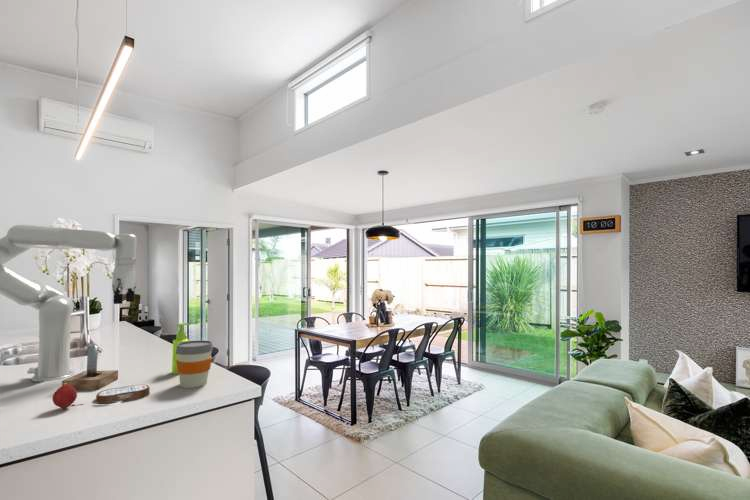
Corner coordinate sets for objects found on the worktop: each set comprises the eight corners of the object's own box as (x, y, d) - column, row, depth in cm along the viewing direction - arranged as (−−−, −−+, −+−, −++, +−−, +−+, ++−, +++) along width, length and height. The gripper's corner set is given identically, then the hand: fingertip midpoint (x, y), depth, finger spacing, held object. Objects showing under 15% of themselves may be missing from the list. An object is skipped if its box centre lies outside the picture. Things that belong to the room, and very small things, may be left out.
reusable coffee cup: (219, 381, 145) (220, 342, 145) (191, 391, 133) (192, 348, 134) (196, 377, 150) (197, 339, 151) (167, 386, 139) (168, 345, 139)
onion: (61, 405, 119) (62, 379, 120) (80, 405, 120) (81, 379, 120) (47, 412, 113) (48, 385, 114) (67, 412, 114) (68, 385, 114)
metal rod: (84, 385, 136) (85, 346, 137) (89, 383, 139) (91, 345, 140) (92, 385, 137) (94, 346, 138) (98, 383, 140) (99, 345, 141)
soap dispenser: (193, 370, 160) (194, 322, 161) (179, 374, 154) (181, 324, 155) (182, 368, 162) (183, 321, 163) (168, 372, 156) (170, 324, 157)
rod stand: (61, 392, 131) (62, 380, 132) (83, 381, 143) (84, 371, 144) (99, 391, 133) (99, 379, 133) (117, 380, 145) (118, 370, 145)
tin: (95, 398, 125) (95, 408, 119) (95, 389, 125) (96, 398, 119) (147, 389, 134) (151, 398, 128) (148, 381, 134) (151, 389, 128)
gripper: (126, 262, 171) (125, 300, 170) (104, 262, 154) (102, 304, 153) (144, 262, 172) (143, 300, 171) (124, 262, 155) (122, 304, 154)
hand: (124, 302), depth 162 cm, fingers open, 9 cm apart
